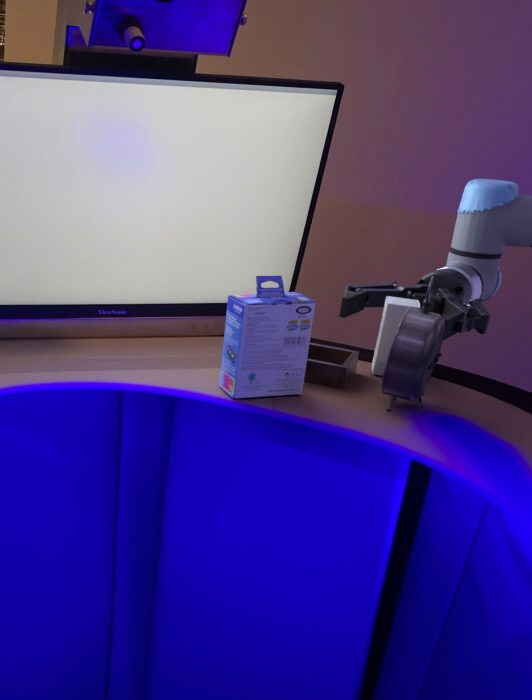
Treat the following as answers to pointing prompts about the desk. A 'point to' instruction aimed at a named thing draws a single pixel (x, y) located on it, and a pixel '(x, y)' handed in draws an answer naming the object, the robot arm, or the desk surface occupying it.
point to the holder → (330, 365)
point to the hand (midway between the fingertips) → (391, 318)
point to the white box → (389, 329)
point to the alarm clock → (413, 353)
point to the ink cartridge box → (266, 341)
